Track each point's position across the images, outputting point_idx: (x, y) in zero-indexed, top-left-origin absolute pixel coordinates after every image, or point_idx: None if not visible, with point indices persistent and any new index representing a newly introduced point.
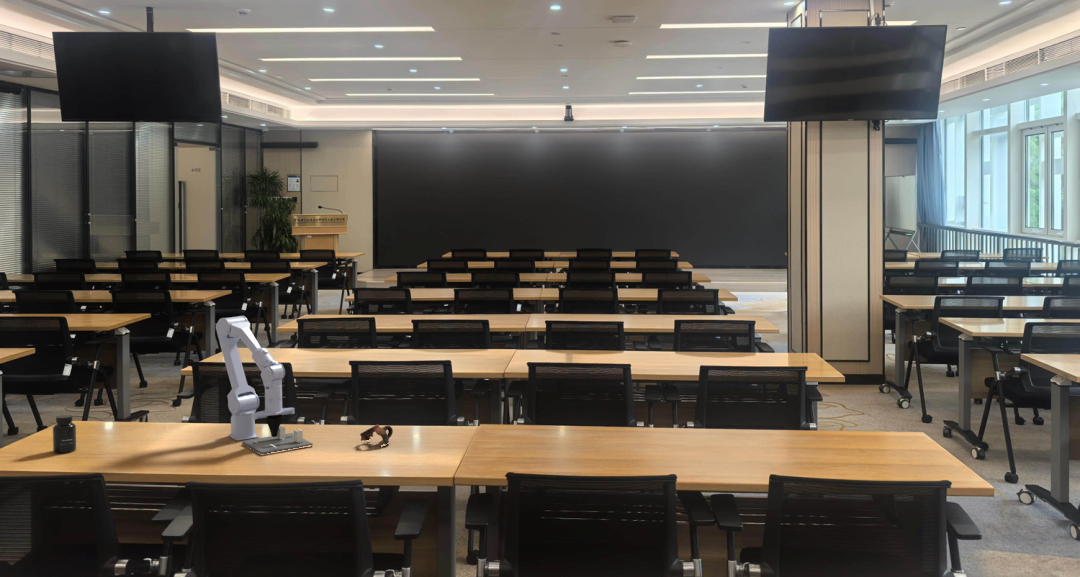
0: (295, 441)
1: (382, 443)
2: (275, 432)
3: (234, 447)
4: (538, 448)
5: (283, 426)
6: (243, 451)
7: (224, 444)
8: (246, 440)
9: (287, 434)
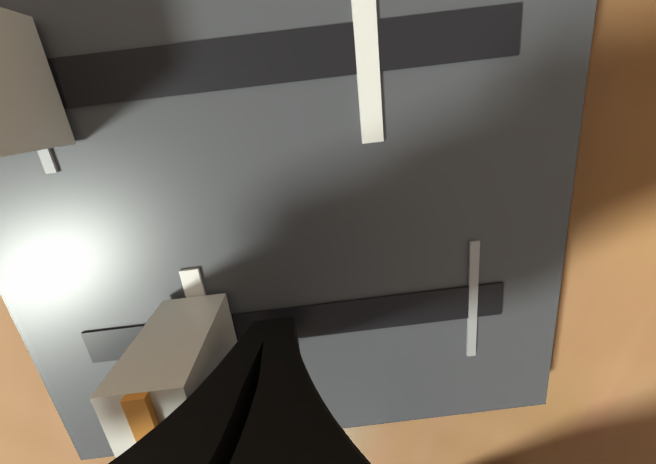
0: (55, 89)
1: None
2: (264, 342)
3: (618, 327)
4: None
5: (113, 448)
6: (633, 157)
7: (627, 433)
8: (509, 404)
9: None
